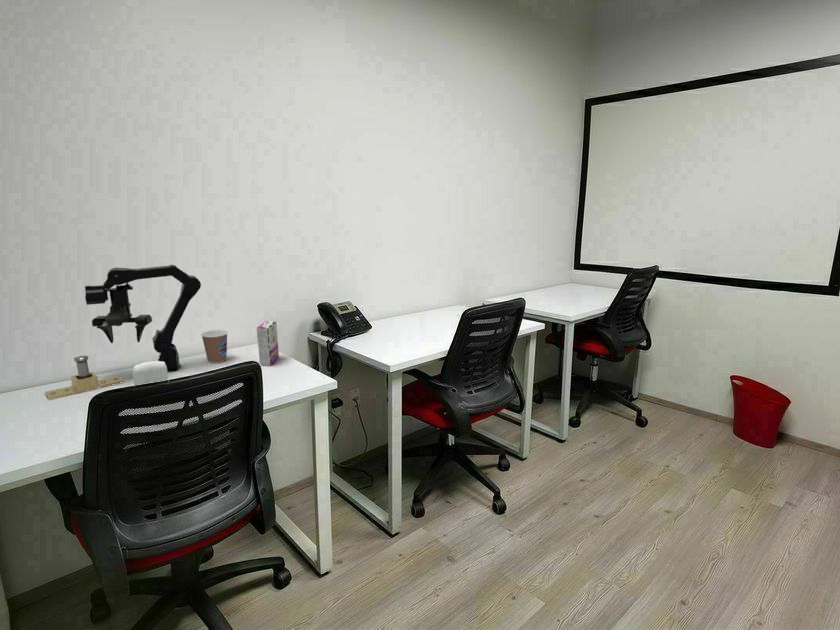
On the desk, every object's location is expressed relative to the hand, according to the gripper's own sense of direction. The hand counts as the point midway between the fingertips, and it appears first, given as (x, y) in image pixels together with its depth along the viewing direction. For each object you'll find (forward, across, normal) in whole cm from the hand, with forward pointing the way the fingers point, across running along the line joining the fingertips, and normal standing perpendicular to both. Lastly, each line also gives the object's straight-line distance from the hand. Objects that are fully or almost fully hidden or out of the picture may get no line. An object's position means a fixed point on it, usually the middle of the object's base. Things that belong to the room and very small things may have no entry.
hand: (125, 342), depth 183 cm
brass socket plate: (+13, -10, -12) cm, 20 cm away
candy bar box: (+13, +51, +9) cm, 53 cm away
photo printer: (+13, +16, -23) cm, 31 cm away
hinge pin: (+13, -10, -12) cm, 20 cm away
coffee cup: (+13, +29, +13) cm, 34 cm away
